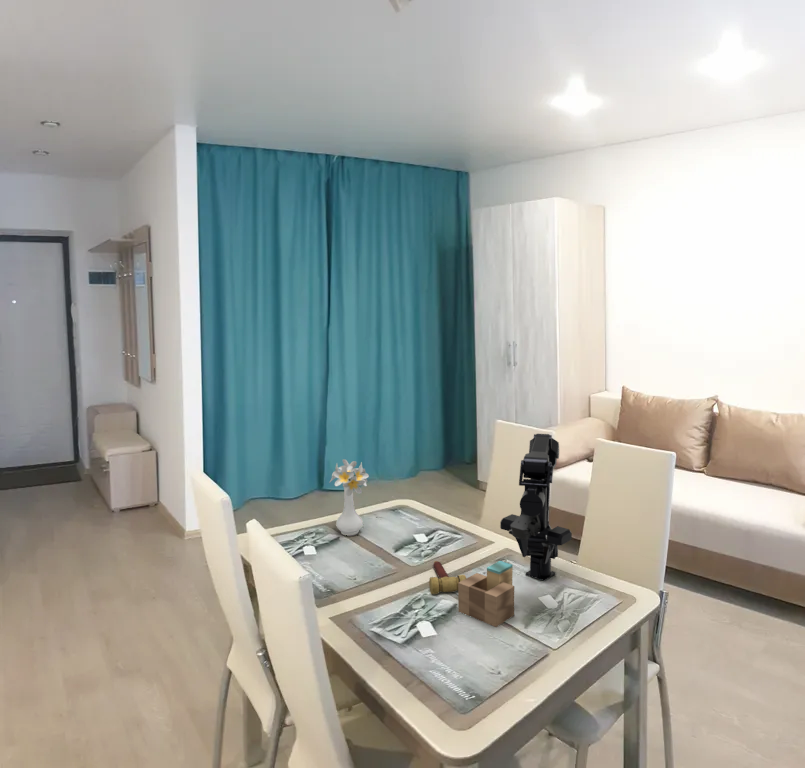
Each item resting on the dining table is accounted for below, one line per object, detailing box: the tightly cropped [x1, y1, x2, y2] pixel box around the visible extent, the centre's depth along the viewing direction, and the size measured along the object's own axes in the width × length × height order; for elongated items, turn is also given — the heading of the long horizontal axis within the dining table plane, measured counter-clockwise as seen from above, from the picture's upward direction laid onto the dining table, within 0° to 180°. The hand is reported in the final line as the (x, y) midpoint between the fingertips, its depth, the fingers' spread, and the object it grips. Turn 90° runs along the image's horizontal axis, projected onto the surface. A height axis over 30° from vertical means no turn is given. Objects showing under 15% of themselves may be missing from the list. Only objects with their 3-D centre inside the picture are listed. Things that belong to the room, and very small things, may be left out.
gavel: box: [428, 560, 467, 595], centre depth 194 cm, size 21×5×10 cm
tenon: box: [486, 560, 514, 591], centre depth 177 cm, size 6×4×11 cm, turn 136°
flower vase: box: [328, 458, 370, 537], centre depth 229 cm, size 13×18×25 cm
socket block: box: [457, 572, 515, 628], centre depth 173 cm, size 8×12×8 cm, turn 46°
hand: (534, 560), depth 177 cm, fingers open, 6 cm apart
